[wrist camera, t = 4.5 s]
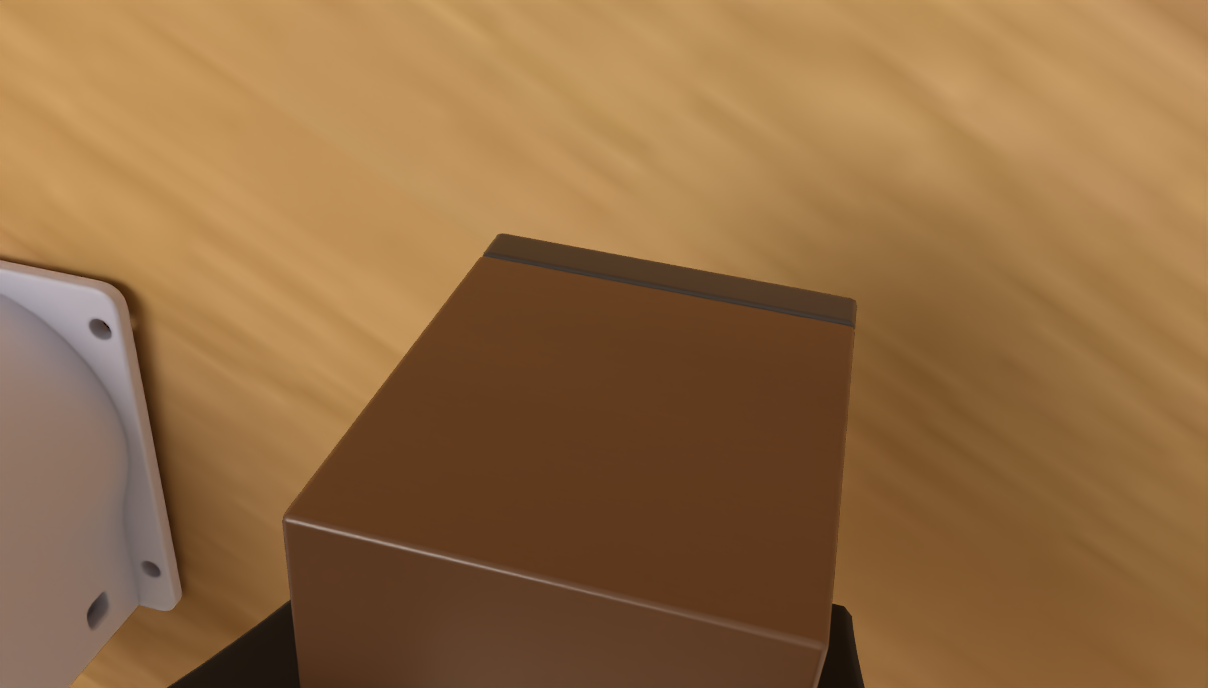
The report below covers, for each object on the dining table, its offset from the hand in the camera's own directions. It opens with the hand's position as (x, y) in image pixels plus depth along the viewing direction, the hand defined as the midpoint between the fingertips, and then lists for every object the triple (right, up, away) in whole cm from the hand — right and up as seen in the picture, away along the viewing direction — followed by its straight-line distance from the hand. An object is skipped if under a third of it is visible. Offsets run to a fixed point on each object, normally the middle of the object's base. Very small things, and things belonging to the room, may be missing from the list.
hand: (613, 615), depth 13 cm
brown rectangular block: (0, +1, +1) cm, 1 cm away
